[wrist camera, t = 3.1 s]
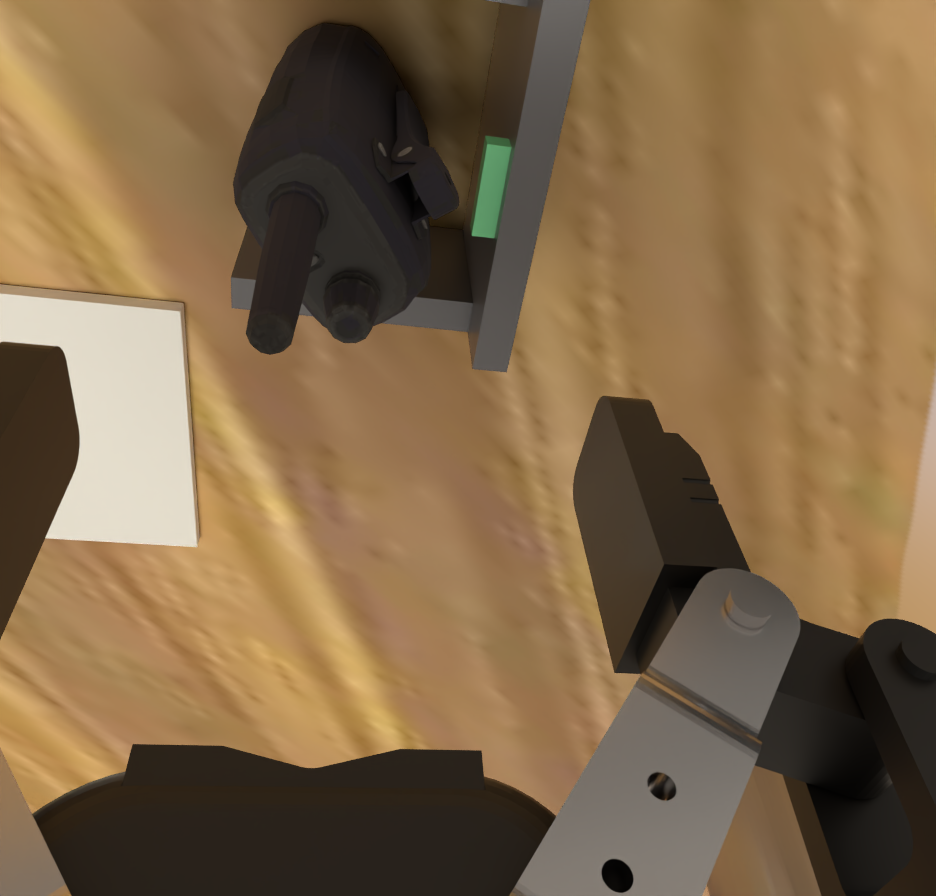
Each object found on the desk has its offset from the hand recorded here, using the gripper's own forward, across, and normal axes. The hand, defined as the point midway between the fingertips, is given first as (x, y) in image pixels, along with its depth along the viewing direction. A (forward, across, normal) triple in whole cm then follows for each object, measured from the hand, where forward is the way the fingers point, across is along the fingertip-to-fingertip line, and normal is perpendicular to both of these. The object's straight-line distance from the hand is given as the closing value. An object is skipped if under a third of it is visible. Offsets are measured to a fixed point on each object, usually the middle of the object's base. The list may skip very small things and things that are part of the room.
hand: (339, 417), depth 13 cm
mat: (+16, +13, +14) cm, 25 cm away
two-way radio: (+16, 0, 0) cm, 17 cm away
